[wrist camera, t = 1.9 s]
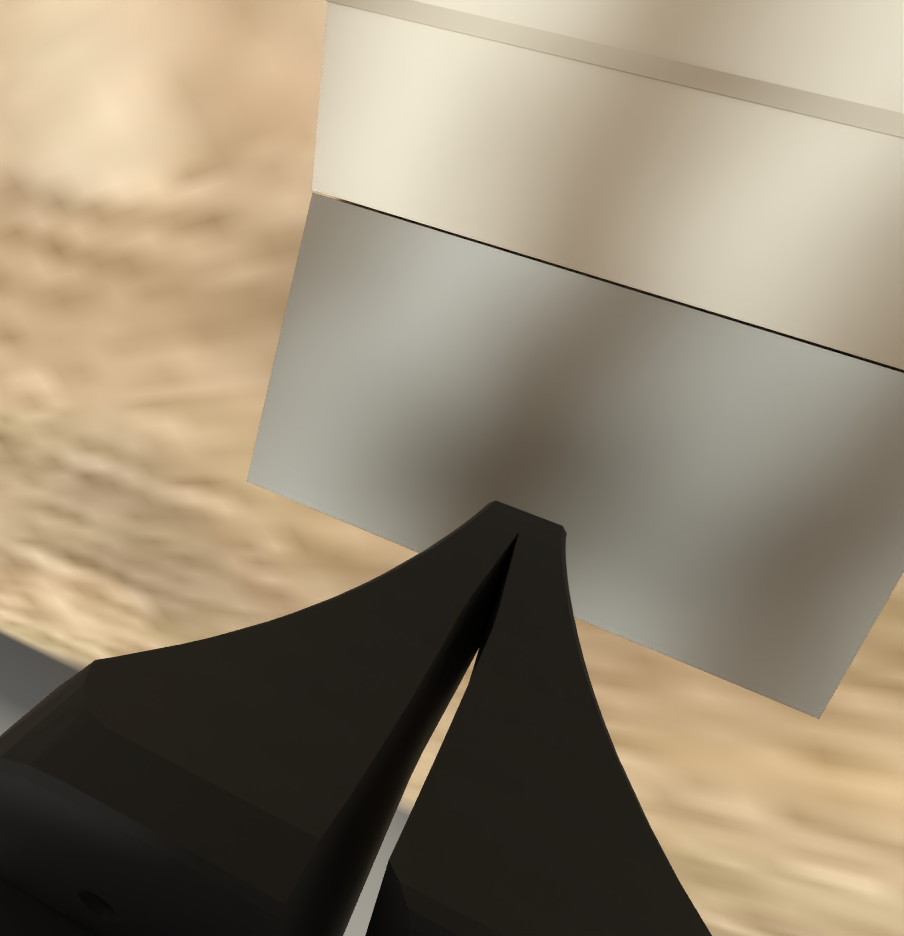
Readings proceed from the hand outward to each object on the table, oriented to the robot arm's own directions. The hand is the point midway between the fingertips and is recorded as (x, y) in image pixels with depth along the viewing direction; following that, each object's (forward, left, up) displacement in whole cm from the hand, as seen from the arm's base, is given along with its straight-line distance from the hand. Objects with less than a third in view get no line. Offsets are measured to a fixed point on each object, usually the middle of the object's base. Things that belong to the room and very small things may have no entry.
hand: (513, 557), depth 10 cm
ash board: (0, -8, -5) cm, 9 cm away
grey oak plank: (0, 0, -4) cm, 4 cm away
